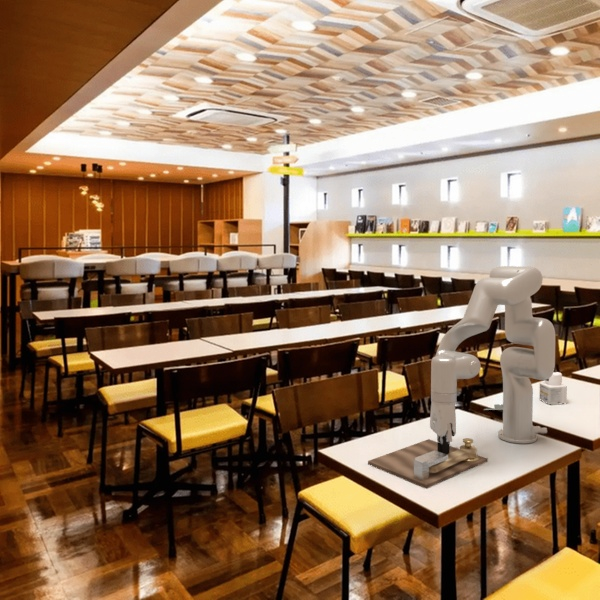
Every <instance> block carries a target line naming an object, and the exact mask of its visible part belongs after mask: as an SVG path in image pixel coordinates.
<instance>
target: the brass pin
mask: <svg viewBox="0 0 600 600" xmlns="http://www.w3.org/2000/svg"><path fill="white" fill-rule="evenodd" d="M462 443H464V445H465V447H466V448H471V446H472V444H473V443H474V439H473V438H468V437H467V438H462ZM477 455H478V454H476V457H475V458H467V459H465V460H462V461H466V462H474V461H477V460H478V459H479V457H478V456H477Z"/></svg>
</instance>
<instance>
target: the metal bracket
mask: <svg viewBox="0 0 600 600" xmlns="http://www.w3.org/2000/svg"><path fill="white" fill-rule="evenodd" d="M493 405H494V407H493V408H483V411H489V410H490V411H491V410H492V411H495V410H498V411H500V410H502V411H503V403H502V404H493Z"/></svg>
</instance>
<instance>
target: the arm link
mask: <svg viewBox="0 0 600 600" xmlns="http://www.w3.org/2000/svg"><path fill="white" fill-rule="evenodd" d="M458 449H459V450H456V451H454V452H452V453H449V454H447V455H448V459H447V460H445V461H442V462H440V463H437V464H435V465H432V466H430V467H429V472H430V473H436V472H438V471H441V470H443V469H445V468H447V467H449V466H451V465H454V464H456V463H458V462H460V461H462V460H465V459H467V458H475V457H476V455H477V447H476V446H475V445H471V448H466V447H465V444H463V445H460V446H459V448H458Z"/></svg>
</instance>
